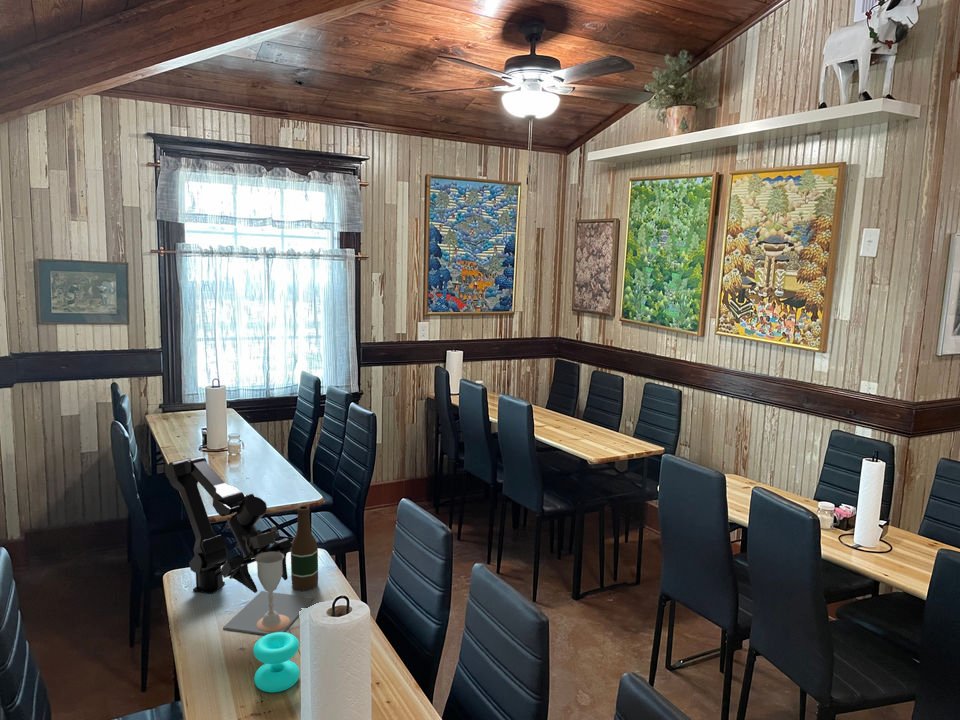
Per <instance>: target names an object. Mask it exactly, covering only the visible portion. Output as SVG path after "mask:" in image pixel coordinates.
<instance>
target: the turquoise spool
mask: <svg viewBox="0 0 960 720" xmlns="http://www.w3.org/2000/svg"><path fill="white" fill-rule="evenodd" d="M299 649H300V641H299V639H298V638H297V637H296V635H294V634H292V633H290V632H286V631H285V632H275V633H271V634H267V635H263V636H262V637H260V638H259V639H258V640H257V641H256V642H255V644H254V646H253V656H254V657H255V659H257V660H258V661H259V662H260V663H263V664H262V665H261V666H260V667H259V668H258V669H257V670H256V671H255V674H254V678H253V680H254V684H255V686H256V688H258V689H259V690H260V691H262V692H266V693H280V692H283V691H286V690H288V689H291V688H292V687H293V686H294V685H295V684H296V683H297V682H298V681H299V678H300V668H299V666H298V665H297V664H296V663H295V662H294V661H291V659H292V658H294V656H296V654H297V653H298V651H299Z"/></svg>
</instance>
